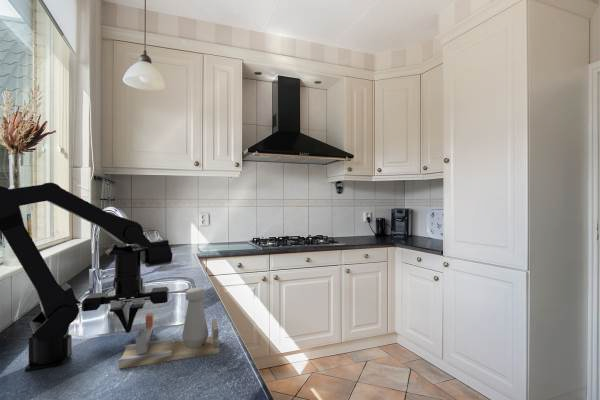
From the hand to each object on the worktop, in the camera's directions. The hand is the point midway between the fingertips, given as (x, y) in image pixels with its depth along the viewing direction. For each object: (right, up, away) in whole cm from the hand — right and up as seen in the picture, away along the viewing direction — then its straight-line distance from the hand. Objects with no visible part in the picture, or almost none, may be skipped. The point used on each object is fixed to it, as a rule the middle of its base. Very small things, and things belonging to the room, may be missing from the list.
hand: (128, 332), depth 80 cm
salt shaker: (+19, -1, -6) cm, 20 cm away
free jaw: (+7, 0, -5) cm, 8 cm away
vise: (+14, -1, -8) cm, 16 cm away
